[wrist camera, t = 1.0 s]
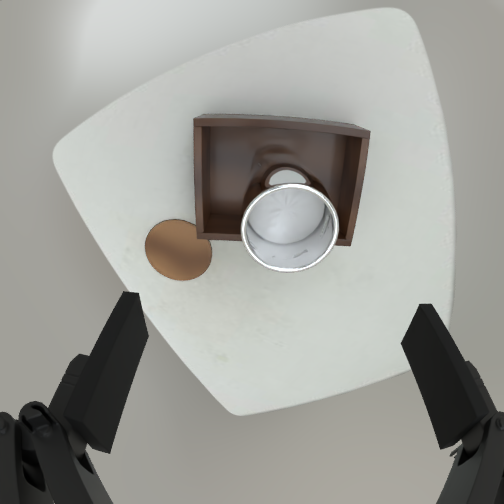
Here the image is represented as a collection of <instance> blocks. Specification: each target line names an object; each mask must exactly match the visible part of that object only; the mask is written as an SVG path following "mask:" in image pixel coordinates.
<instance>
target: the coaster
mask: <svg viewBox="0 0 504 504" xmlns="http://www.w3.org/2000/svg"><path fill="white" fill-rule="evenodd" d="M196 233H197V232H196V226H195V225H193V224H191V223H189V222H187V221H183V220H176V219H174V220H166V221H163V222H161V223H159V224H157V225H156V226H154V227H153V228H152V229H151V231H150V232H149V234H148V236H147V238H146V242H145V251H146V255H147V258H148V260H149V262H150V263H151V265H152V266H153V267H154V269H156V270H157V271H158V272H159V273H160V274H162V275H164V276H166V277H168V278H171V279H174V280H191V279H194V278H197V277H199V276H200V275H202V274H203V273H204V272H205V271H206V270H207V268H208V267H209V265H210V262H211V258H212V249H211V245H210V242H209V240H204V239H197V235H196Z"/></svg>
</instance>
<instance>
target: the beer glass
mask: <svg viewBox="0 0 504 504" xmlns="http://www.w3.org/2000/svg"><path fill="white" fill-rule="evenodd" d="M240 216H241V237H242V241H243V244H244V247H245V249H246V250H247V252H248V253H249V255H250V256H251V257H252V258H253V259H254V260H255V261H256V262H257V263H259V264H260V265H262V266H263V267H265V268H268V269H270V270H273V271H277V272H285V273H291V272H299V271H303V270H306V269H309V268H311V267H313V266H315V265H317V264H318V263H319V262H321V261H322V260H323V259H324V258H325V257H326V256H327V255H328V254H329V253H330V252H331V250H332V249H333V247H334V245H335V243H336V240H337V237H338V232H339V221H338V216H337V213H336V210H335V208H334V206H333V204H332V201H331V199H330V196H329V194H328V192H327V190H326V188H325V187H324V185H323V183H322V182H321V181H320V179H319V178H318V177H317V176H316V175H315V174H314V173H313V172H312V171H311V170H310V169H308V168H307V167H306V166H304V165H303V162H302V160H301V158H300V157H299V155H298V154H297V153H296V152H294V151H293V150H291V149H289V148H287V147H284V146H271V147H267V148H265V149H263V150H261V151H260V152H259V153H258V154H257V155H256V156H255V157H254V159H253V161H252V163H251V166H250V178H249V180H248V182H247V184H246V186H245V188H244V191H243V195H242V199H241V210H240Z"/></svg>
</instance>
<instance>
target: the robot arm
mask: <svg viewBox="0 0 504 504" xmlns="http://www.w3.org/2000/svg"><path fill="white" fill-rule="evenodd" d="M148 337H149V335H148V331H147V327H146V323H145V319H144V315H143V310H142V306H141V301H140V297H139V293H134V292H124V291H123V293H122V295H121V297H120V299H119V300H118V302H117V304H116V306H115V308H114V309H113V311H112V313H111V315H110V317H109V319H108V321H107V322H106V324H105V326H104V328H103V330H102V332H101V334H100V336H99V338H98V340H97V342H96V344H95V346H94V348H93V350H92V352H91V354H90V356H87V355H83V354H79V355H77V356H76V357H75V358H74V359H73V360H72V361H71V362H70V364H69V366H68V368H67V370H66V373H65V374H64V376H63V378H62V381H61V382H60V384H59V386H58V388H57V390H56V392H55V394H54V396H53V399H52V401H51V403H50V405H49V407H48V408H47V407H46V406H45V405H44V404H43V403H41V402H37V401H33V402H29V403H27V404H26V405H24V406H23V408H22V409H21V410H20V413H19V420H15V419H14V418H13V417H12V416H11V415H9V414H8V413H6V412H0V504H54V503H55V504H113V502H112V501H111V499H110V497H109V495H108V493H107V492H106V490H105V488H104V486H103V484H102V482H101V480H100V478H99V476H98V475H97V472H96V470H95V468H94V466H93V464H92V462H91V460H90V458H89V456H88V453H87V452H86V450H85V449H86V445H87V443H88V444H89V445H90V446H91V447H92V449H95V450H98V451H102V452H105V453H109V454H110V452H111V448H112V445H113V442H114V438H115V435H116V431H117V428H118V425H119V422H120V418H121V415H122V412H123V409H124V406H125V403H126V400H127V396H128V393H129V391H130V388H131V384H132V382H133V379H134V376H135V373H136V370H137V367H138V364H139V362H140V358H141V356H142V353H143V350H144V348H145V345H146V342H147V339H148ZM401 345H402V348H403V350H404V352H405V355H406V357H407V359H408V362H409V364H410V367H411V369H412V372H413V374H414V377H415V379H416V382H417V384H418V387H419V389H420V392H421V394H422V397H423V400H424V403H425V405H426V408H427V411H428V414H429V417H430V419H431V422H432V425H433V428H434V431H435V434H436V437H437V441H438V444H439V447H440V449H444V448H447V447H450V446H453V445H455V444H456V443H457V442H458V441H459V440H460V439H461V440H462V444H461V445H460V446H459V447H458V448H456V449H455V450H454V451H453V452H451V454H450V456H453V455H454V454H455V453H456V452H457V455H456V456H455V457H454V458H455V460H454V463H453V466H452V468H451V471H450V473H449V476H448V478H447V481H446V483H445V485H444V488H443V490H442V492H441V494H440V497H439V499H438V501H437V503H436V504H504V412H498V411H497V410H496V408H495V406H494V403H493V401H492V399H491V397H490V395H489V393H488V391H487V389H486V387H485V386H484V383H483V381H482V379H480V375H479V373H478V371H477V369H476V368H475V367H474V366H473V365H472V364H471V363H470V362H469V361H465V360H464V358H463V357H462V355H461V353H460V351H459V349H458V347H457V346H456V344H455V342H454V340H453V339H452V337H451V335H450V333H449V332H448V330H447V328H446V327H445V325H444V323H443V322H442V320H441V318H440V317H439V315H438V313H437V312H436V310H435V308H434V307H433V305H432V304H419V306H418V309H417V311H416V313H415V315H414V317H413V319H412V322H411V324H410V326H409V328H408V330H407V332H406V334H405V336H404V338H403V340H402V342H401ZM53 501H54V502H53Z"/></svg>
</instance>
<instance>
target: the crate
mask: <svg viewBox="0 0 504 504" xmlns="http://www.w3.org/2000/svg"><path fill="white" fill-rule="evenodd" d="M369 140H370V131H369V130H367V129H364V128H362V127H359V126H356V125H354V124H347V123H340V122H333V121H325V120H316V119H307V118H296V117H284V116H268V115H246V114H203V115H201V116H198V117H196V118H194V186H195V214H196V232H197V233H196V235H197V239H204V240H229V241H242V237H241V216H240V210H241V199H242V195H243V191H244V188H245V186H246V184H247V182H248V180H249V178H250V166H251V163H252V161H253V159H254V157H255V156H256V155H257V154H258V153H259V152H260V151H261V150H263V149H265V148H267V147H271V146H284V147H287V148H289V149H291V150H293V151H294V152H296V153H297V154H298V155H299V157H300V158H301V160H302V162H303V165H304V166H306V167H307V168H308V169H310V170H311V171H312V172H313V173H314V174H315V175H316V176H317V177H318V178H319V179H320V181H321V182H322V183H323V185H324V187H325V188H326V190H327V192H328V194H329V196H330V199H331V201H332V204H333V206H334V208H335V210H336V213H337V216H338V221H339V232H338V237H337V240H336V243H335V245H337V246H351V242H352V238H353V233H354V229H355V224H356V219H357V214H358V208H359V203H360V197H361V192H362V186H363V180H364V174H365V168H366V161H367V154H368V147H369Z"/></svg>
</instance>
